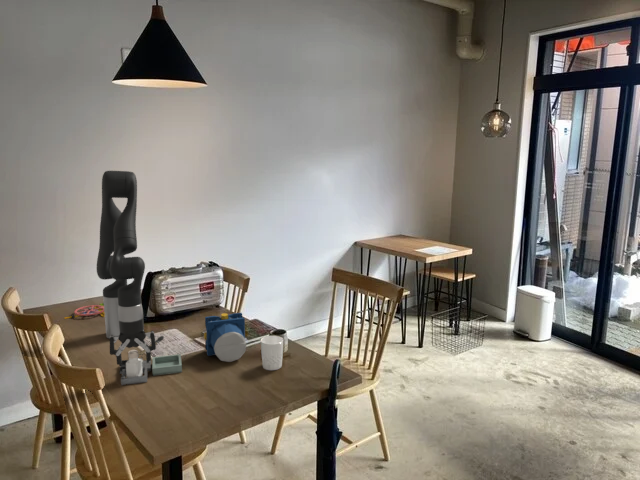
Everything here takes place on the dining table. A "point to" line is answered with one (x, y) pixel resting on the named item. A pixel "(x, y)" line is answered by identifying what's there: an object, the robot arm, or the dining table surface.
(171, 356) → the tray
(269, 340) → the white cup
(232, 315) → the blue boxy device
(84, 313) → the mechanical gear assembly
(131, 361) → the pepper shaker
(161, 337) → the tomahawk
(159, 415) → the dining table surface
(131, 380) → the grey caddy
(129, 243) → the robot arm
